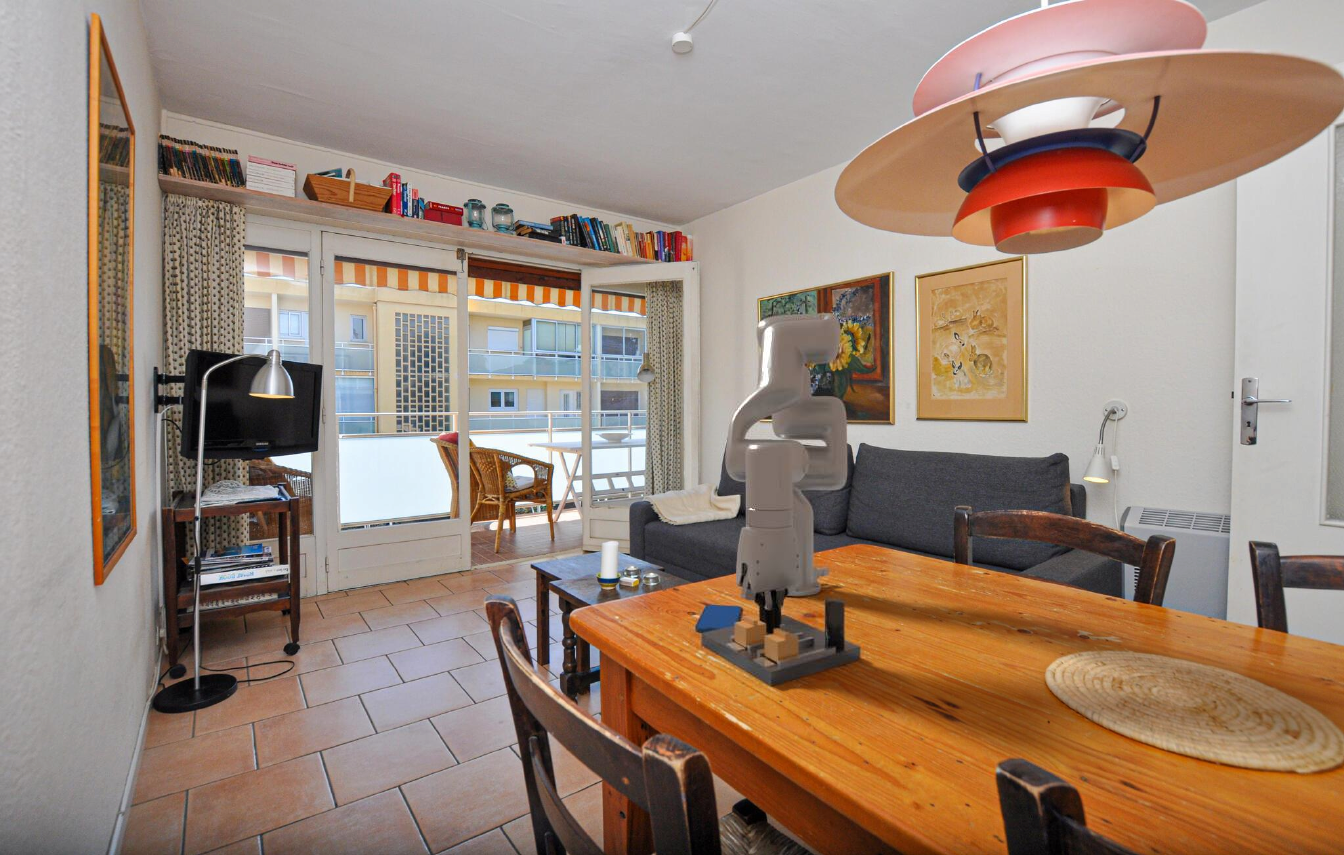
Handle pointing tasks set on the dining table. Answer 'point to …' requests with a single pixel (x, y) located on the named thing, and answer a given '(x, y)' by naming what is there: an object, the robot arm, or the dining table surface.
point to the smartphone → (718, 617)
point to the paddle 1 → (749, 631)
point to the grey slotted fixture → (812, 648)
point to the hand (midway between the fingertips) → (769, 630)
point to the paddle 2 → (781, 645)
